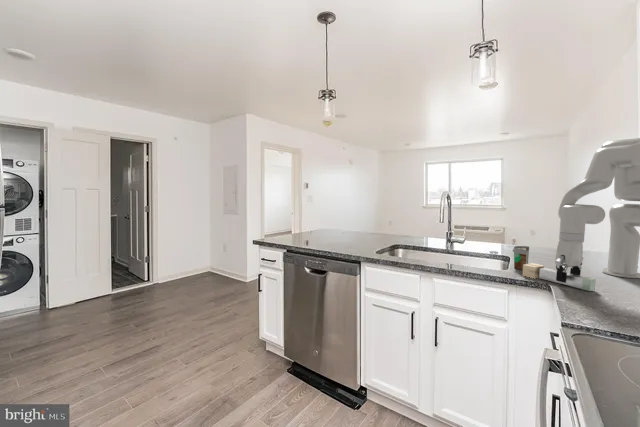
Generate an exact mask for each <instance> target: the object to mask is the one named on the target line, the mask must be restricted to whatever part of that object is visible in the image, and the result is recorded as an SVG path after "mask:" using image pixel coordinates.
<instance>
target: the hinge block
mask: <svg viewBox="0 0 640 427" xmlns="http://www.w3.org/2000/svg"><path fill="white" fill-rule="evenodd" d="M541 268H545V265H543V264H537V263H528V264H524V265H523V271H522V274H521V275H522V276H521V277H525V276H526V278H529V277H530V278H529V279H533V278H534V279H533V280H537V279H540V278H539V273H540V269H541ZM536 278H537V279H536Z"/></svg>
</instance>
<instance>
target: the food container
mask: <svg viewBox="0 0 640 427" xmlns="http://www.w3.org/2000/svg"><path fill="white" fill-rule="evenodd" d="M512 252H513V263H514V264H513V267H514V269H515V270H518V271H522V272H523V265H524V264H529V258H530V257H529V256H530V255H529V254H530V246H527V245H514V246H513V248H512Z"/></svg>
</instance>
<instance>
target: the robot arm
mask: <svg viewBox="0 0 640 427" xmlns="http://www.w3.org/2000/svg"><path fill="white" fill-rule="evenodd" d="M613 181H614V183H613ZM612 183H613V191H614V197H615V199H617V200H618V201H623V202H624V201H625V202H640V137H637V138H636V137H635V138H626V139H616V140H612V141H607V142H605V143H603V144H602V145H601V148H599V149H597V150H596V151H595V153H594V154H593V157H592V159H591V161H590V164H589V167H588V170H587V172H586V173H585V177H584V179H583V180H582V181H581V182H579V183H577V184H576V185H575V186H573V187H572V188H570V189H569V190H568V191H567V192H566V193H565V194H564V196H563V197H562V199H561V202H560V205H559V208H558V217H559V219H560V222H559V224H560V225H559V234H558V236H559V237H558V242H557V245H556V246H557V248H556V252H555V259H554V260H555V261H554V263H555V268H556V269H555V270H556V271H557V275H556V281H560V282H564V283H566V279H567V273H568V272H567V270H568V269H569V268H570V272H569V273H570V274H574V275H579V276H581V272H582V265H583V260H584V257H583V253H584V251H583V249H584V248H583V247H584V246H583V244H584V242H585V234H586V232H585V231H586V225H598V224H600V223H601V222H603V221H604V220H605V217H606V211H605V209H604V208H603V207H601V206H599V205H595V204H582V203H581V204H580V203H578V204H577V203H576V202H578V201H579V200H580V199H581V198H583V197H585V196H588V195H591V194H593V193H597V192H599V191H603V190H606V189H609V187H611V185H612ZM608 214H609V216H608V217H609V223H610V235H609V247H608V248H609V249H608V258H607V267H606V268H603V269H602V272H603V273H604V274H606V275H610V276H615V277H619V278H627V279H640V272H638V269H639V257H640V232H639V231H638V230H637V229H636V227H640V203H618V204H615V205H612V206H611V207H610V210H609V213H608Z"/></svg>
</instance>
